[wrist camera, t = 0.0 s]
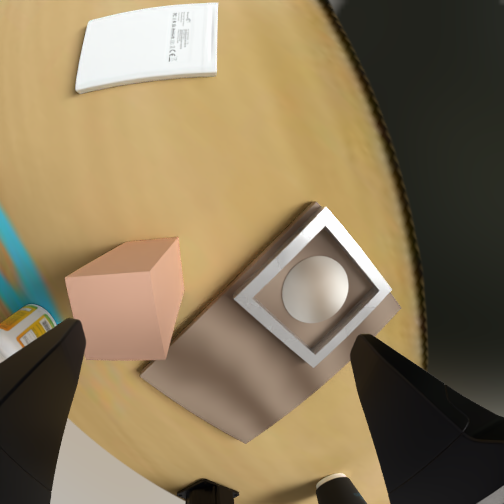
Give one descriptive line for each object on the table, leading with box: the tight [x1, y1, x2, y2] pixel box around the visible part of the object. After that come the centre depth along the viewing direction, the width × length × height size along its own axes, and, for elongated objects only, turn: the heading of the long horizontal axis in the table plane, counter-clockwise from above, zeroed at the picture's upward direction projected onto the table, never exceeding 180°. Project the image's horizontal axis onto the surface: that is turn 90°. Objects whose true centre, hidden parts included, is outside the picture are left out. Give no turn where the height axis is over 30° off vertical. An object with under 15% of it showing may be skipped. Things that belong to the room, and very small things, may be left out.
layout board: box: [140, 202, 401, 444], centre depth 25 cm, size 22×14×2 cm, turn 134°
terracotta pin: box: [65, 237, 185, 360], centre depth 18 cm, size 4×4×11 cm
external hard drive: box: [75, 3, 218, 94], centre depth 19 cm, size 2×8×12 cm
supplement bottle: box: [0, 304, 57, 363], centre depth 18 cm, size 5×5×10 cm
